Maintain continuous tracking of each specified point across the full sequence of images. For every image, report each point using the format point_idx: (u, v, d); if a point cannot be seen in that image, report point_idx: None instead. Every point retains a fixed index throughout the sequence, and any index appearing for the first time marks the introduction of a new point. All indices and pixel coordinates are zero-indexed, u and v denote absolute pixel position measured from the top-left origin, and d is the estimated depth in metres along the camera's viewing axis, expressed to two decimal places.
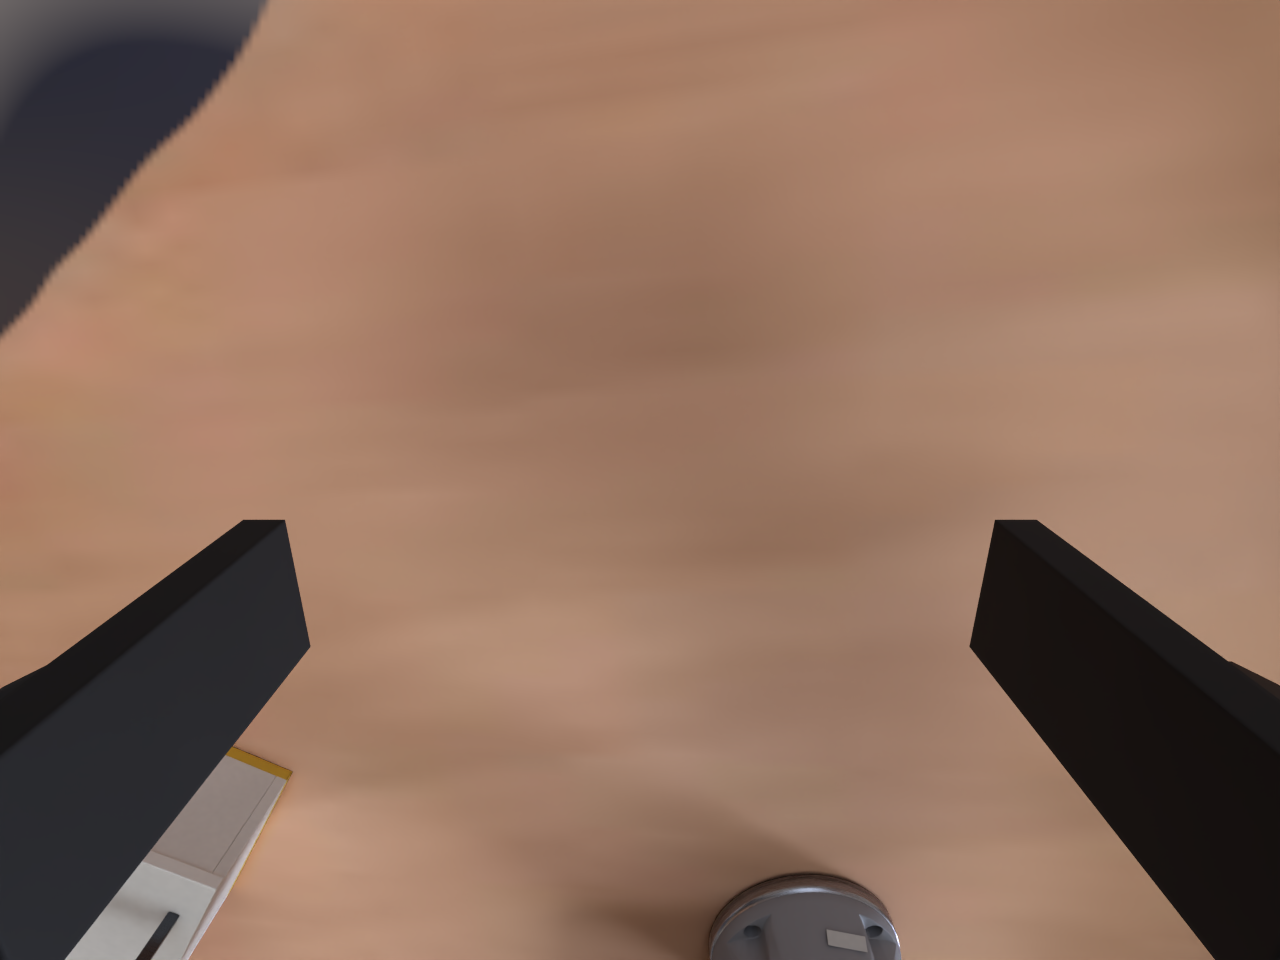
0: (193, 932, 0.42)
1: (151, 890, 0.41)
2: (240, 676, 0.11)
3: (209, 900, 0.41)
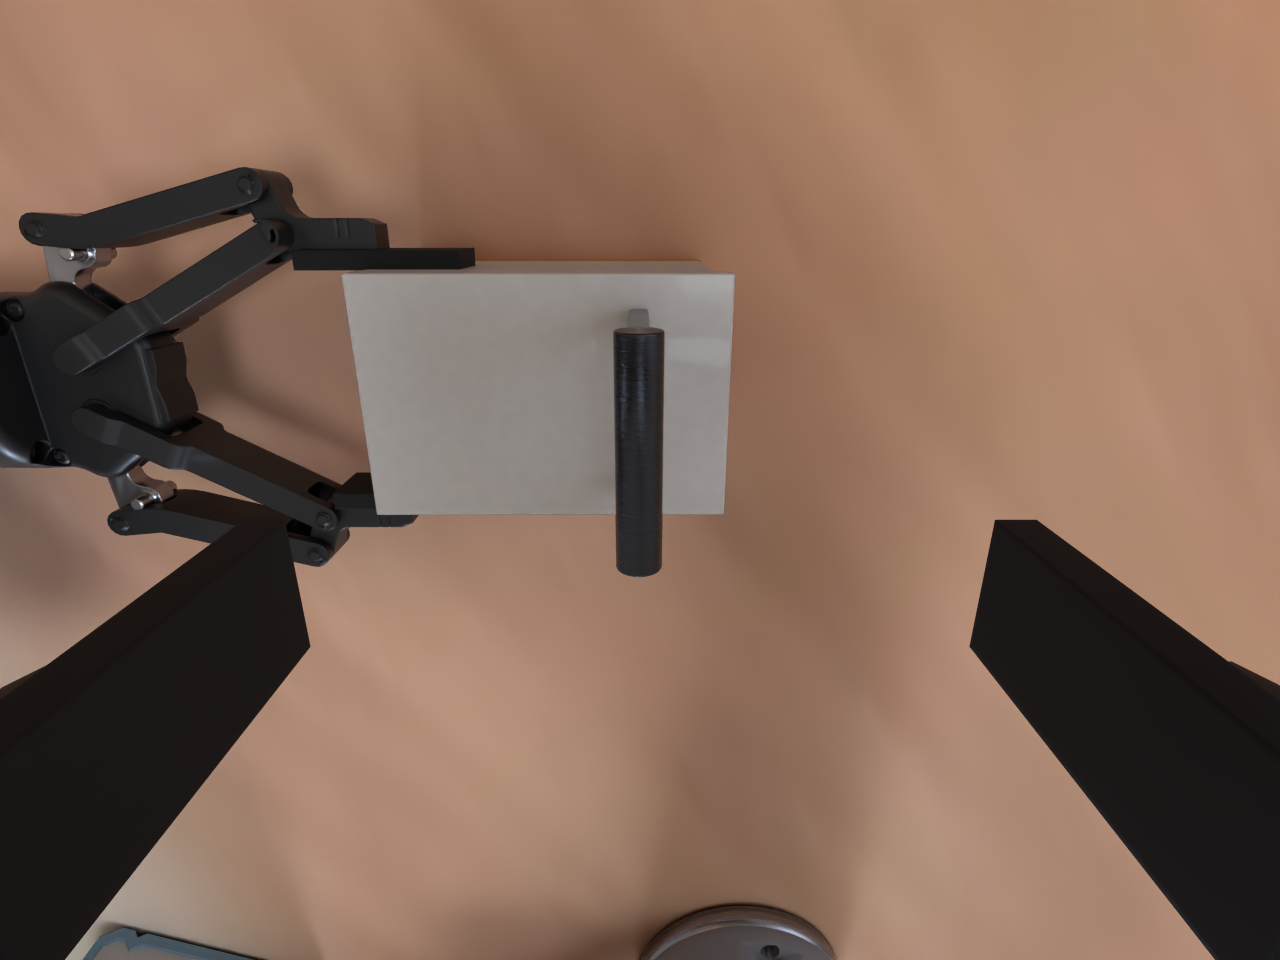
0: None
1: (676, 436, 0.26)
2: (240, 676, 0.11)
3: (697, 513, 0.28)
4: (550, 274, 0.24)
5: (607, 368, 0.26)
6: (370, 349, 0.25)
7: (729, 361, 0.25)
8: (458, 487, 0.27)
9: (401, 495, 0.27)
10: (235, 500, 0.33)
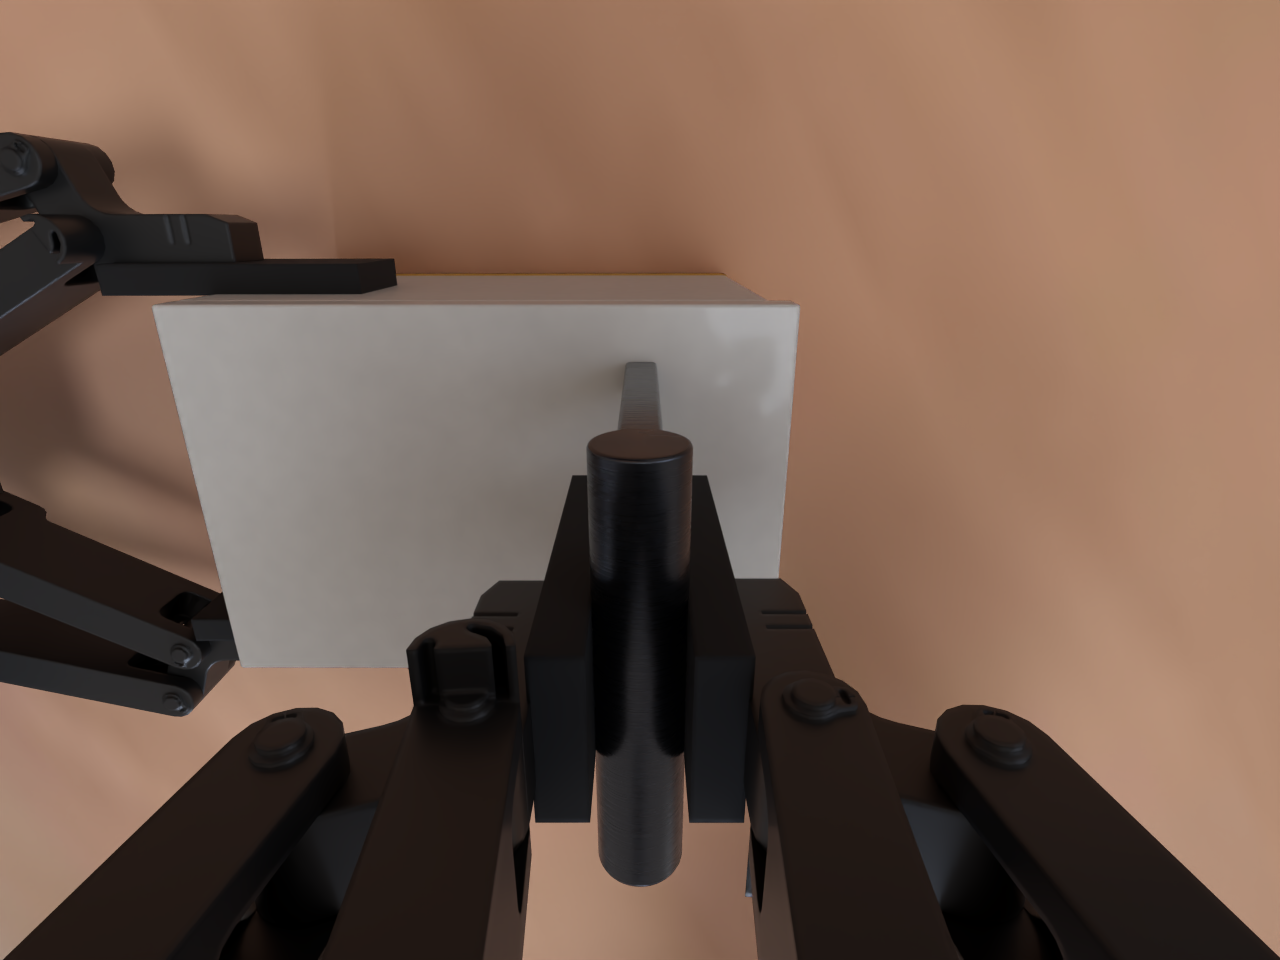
0: None
1: None
2: None
3: None
4: (495, 306, 0.15)
5: None
6: (209, 425, 0.16)
7: (787, 443, 0.16)
8: (363, 629, 0.18)
9: (276, 641, 0.18)
10: None
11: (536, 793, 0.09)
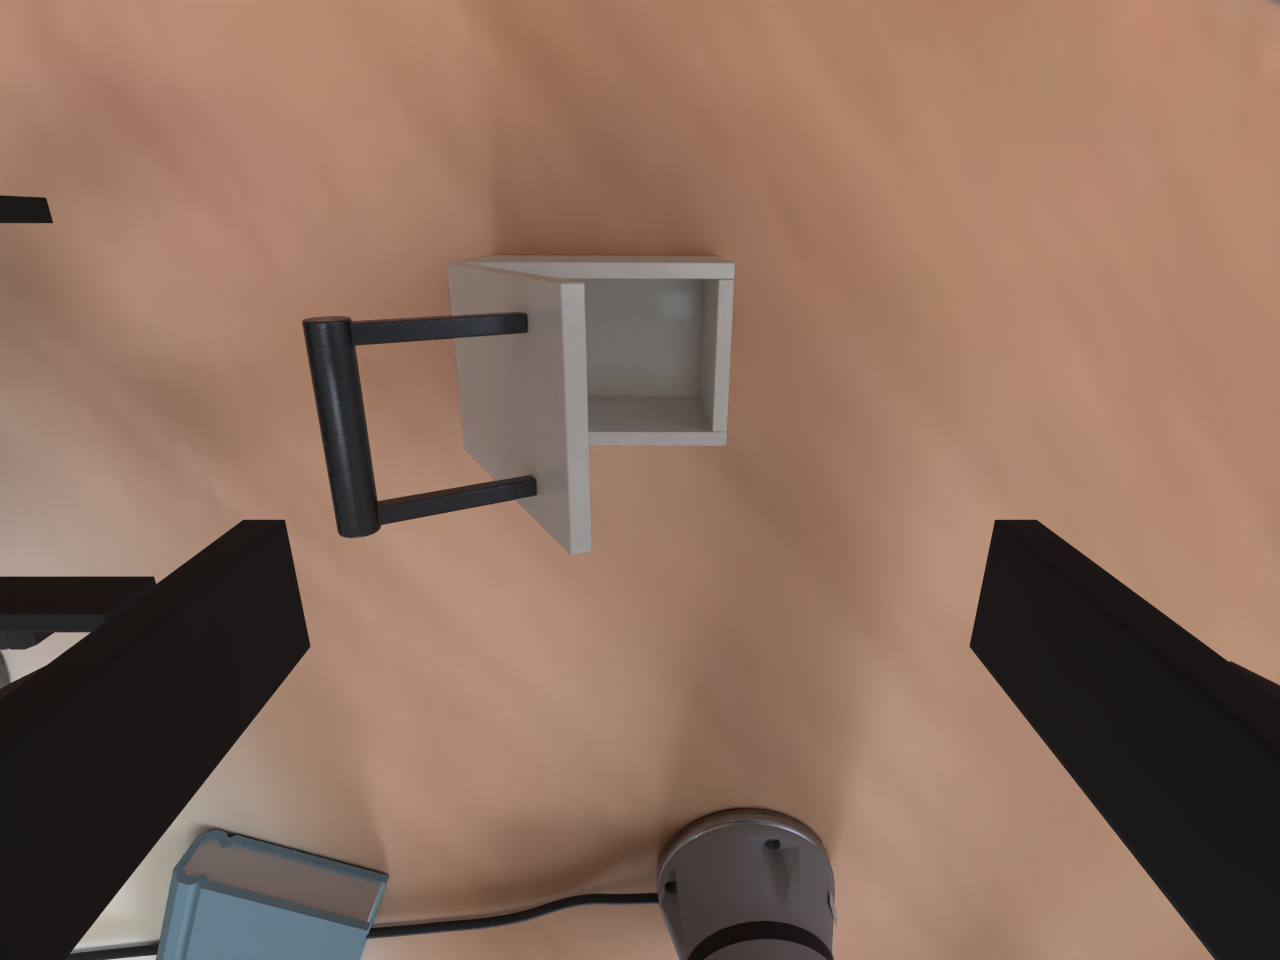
0: (529, 513, 0.28)
1: (545, 453, 0.25)
2: (240, 676, 0.11)
3: (559, 542, 0.25)
4: (495, 272, 0.26)
5: (517, 367, 0.26)
6: None
7: (563, 383, 0.22)
8: (481, 444, 0.33)
9: (468, 439, 0.35)
10: None
11: None
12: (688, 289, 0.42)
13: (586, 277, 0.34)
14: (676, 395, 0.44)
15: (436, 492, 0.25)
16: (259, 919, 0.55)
